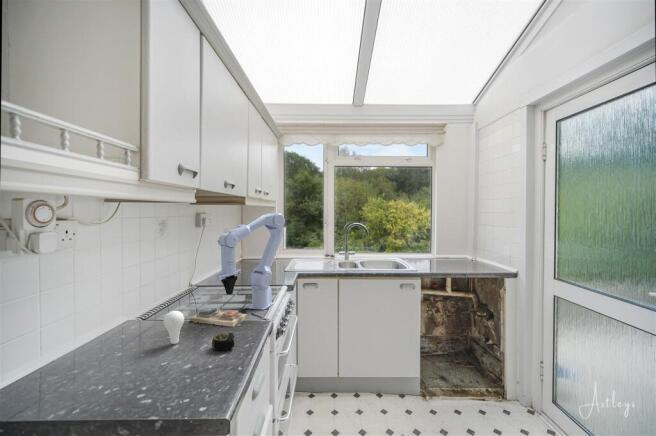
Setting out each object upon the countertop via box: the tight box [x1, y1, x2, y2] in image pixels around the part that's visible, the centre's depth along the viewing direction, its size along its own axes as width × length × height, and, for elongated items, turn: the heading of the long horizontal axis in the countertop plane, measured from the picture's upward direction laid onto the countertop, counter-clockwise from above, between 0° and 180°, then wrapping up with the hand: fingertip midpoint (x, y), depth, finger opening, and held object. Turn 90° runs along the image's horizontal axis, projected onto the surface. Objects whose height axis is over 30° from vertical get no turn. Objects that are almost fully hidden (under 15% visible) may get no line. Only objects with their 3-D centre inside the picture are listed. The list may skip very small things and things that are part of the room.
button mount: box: [189, 309, 248, 328], centre depth 122 cm, size 10×20×2 cm, turn 73°
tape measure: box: [211, 332, 235, 351], centre depth 97 cm, size 7×7×4 cm
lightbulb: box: [163, 310, 185, 345], centre depth 100 cm, size 6×6×11 cm
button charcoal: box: [199, 307, 217, 315], centre depth 124 cm, size 4×4×2 cm
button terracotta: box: [222, 309, 239, 318], centre depth 120 cm, size 4×4×2 cm
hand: (229, 294), depth 126 cm, fingers closed
